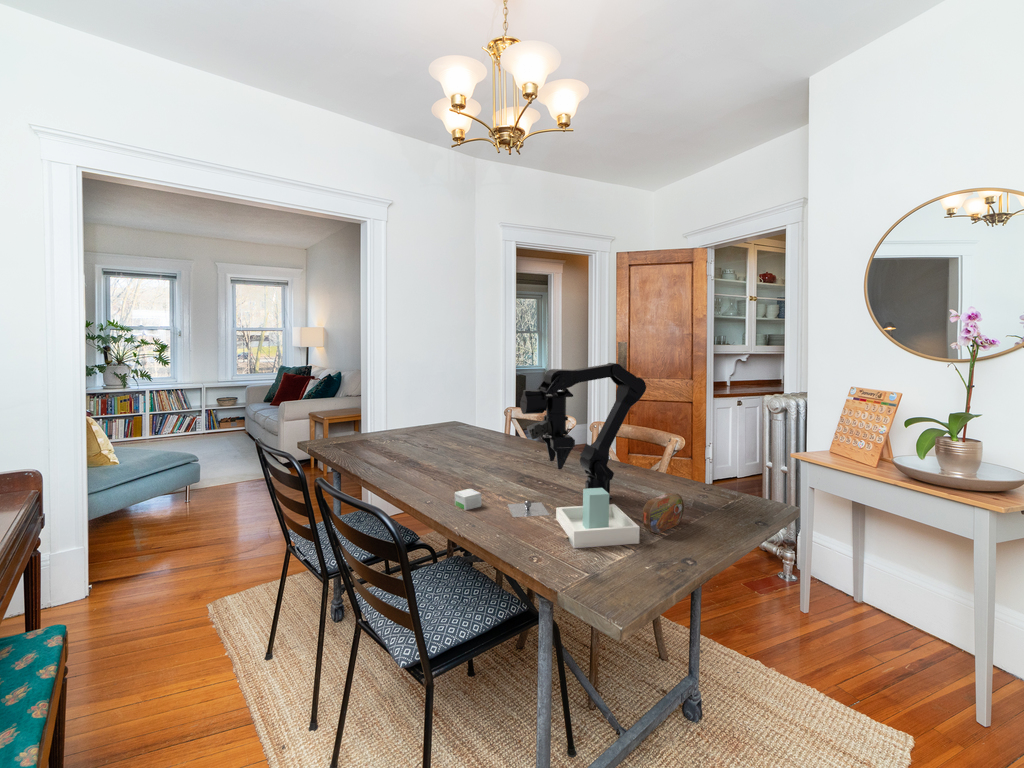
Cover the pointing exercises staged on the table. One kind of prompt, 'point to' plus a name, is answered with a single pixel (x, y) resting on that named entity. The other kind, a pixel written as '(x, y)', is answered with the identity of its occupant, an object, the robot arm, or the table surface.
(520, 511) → the stud plate
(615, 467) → the table surface
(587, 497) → the block
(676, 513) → the tin
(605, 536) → the bin
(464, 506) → the small box
